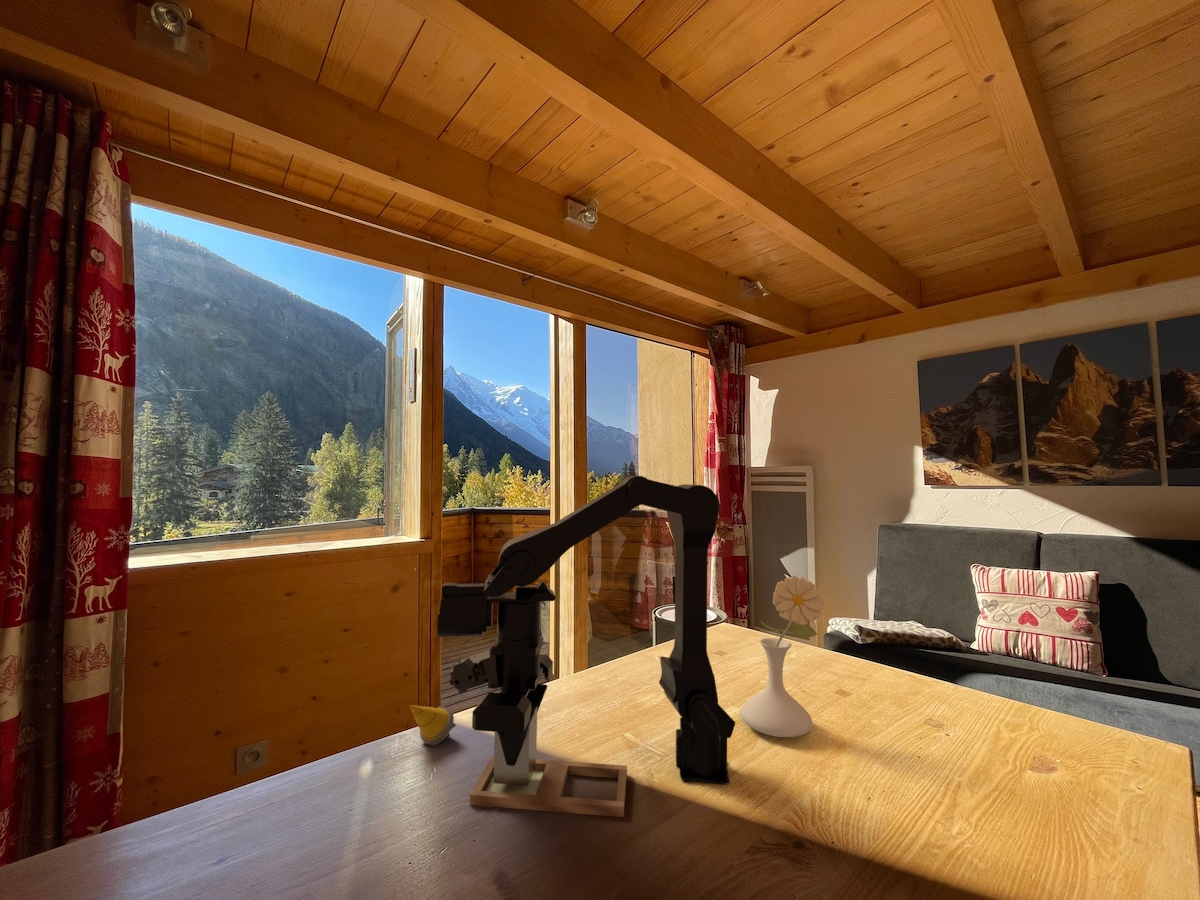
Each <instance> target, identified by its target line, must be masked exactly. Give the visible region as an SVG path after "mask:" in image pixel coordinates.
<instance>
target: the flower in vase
mask: <svg viewBox="0 0 1200 900" xmlns="http://www.w3.org/2000/svg"><path fill="white" fill-rule="evenodd" d="M772 599H773V600H772V604H773V606H775V610H776V611H777V612H779V616H780V618H782V619H785V620H786V621H788V622H789V624H788V625H787V627H786V628H785V630H784V631H783V633H781V632H780V631H779V629H776V628H775V627H773V626H770V625H768V624H766V623H765V622H764V621H762V620H761V619H760V623H761V625H762V627H764V628H766V629H768V630H770V631H773V632H775V633H777V634H778V635H780V637H779V638H777V637H776V638H775V637H764V638H762V639H759V644H761V646H762V648H763V649H764V652H765V657H766V660H767V668H768V671H767V672H768V679H767V684H766V686H765V688H763V689H762V690H761V691H759V692H758V693H756V694H754V695H753V696H752V697H749V698H748V699H747V700H746V701H745V702H744V703H743V704H741V707H740V710H739V716H740V718H741V720H742V721H743V722H744V723H745V725H747V726H748V727H750V728H751V729H753V730H754V731H757V732H759V733H762V734H765V735H768V736H772V737H778V738H795V737H801V736H803V735H806V734H808V733H809V732H810V731H811V730H812V728H813V726H814V723H813V719H812V717H811V715H810V713H809V712H808V711H807V710H806V708H805V707H803V705H802V704H800V702H798V701H797V700H796V699H795V698H794V697H792V696H791V694H789V693H788V692H787V690H786V689H785V685H784V681H783V680H784V678H783V669H784V663H785V662H784V661H785V658H786V656H787V655H786V654H787V653H788V651H789V649H790V648H791V647H792V643H791V642H790V641H788V640H785V639H783V638H784V636H785V635H786V634H787V632H788V630H789V629H790V630H791V631H792V632H793V633H794V634H795V636H796V637H798V638H800V639H808V638H811V637H815V636H817V635H818V633H817V631H815V629H814V628H813V627H812V626H811V625H809V622H811V623H812V622H815V621H816V620H817V619H818V620H819V619H820V618H821V612H822V611H823V609H824V608H823V604H824V598H823V596H822V595H820V591H819V590H818V589H816V585H815V584H814V583H813V582H812V581H810V580H806V578H804V577H797V575H792V576H791V577H786V578H784V580H781V581H777V583H776V586H775V591H774V592H773V596H772ZM793 622H794V623H793Z"/></svg>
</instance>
